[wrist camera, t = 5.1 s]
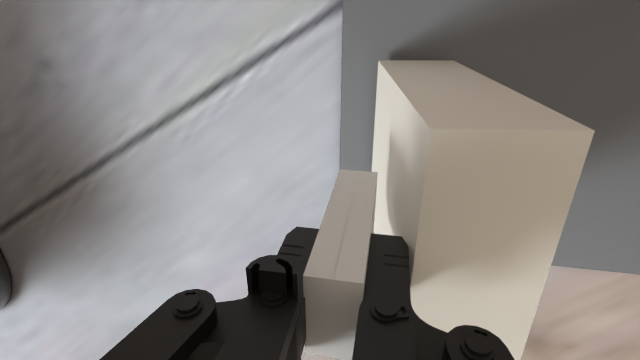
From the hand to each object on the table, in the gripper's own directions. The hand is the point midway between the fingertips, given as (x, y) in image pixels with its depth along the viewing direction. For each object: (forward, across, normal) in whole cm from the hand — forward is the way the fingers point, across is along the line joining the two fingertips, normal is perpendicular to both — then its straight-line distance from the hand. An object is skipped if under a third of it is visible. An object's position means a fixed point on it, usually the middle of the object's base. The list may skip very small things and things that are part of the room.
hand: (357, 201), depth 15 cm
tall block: (+8, -2, 0) cm, 8 cm away
